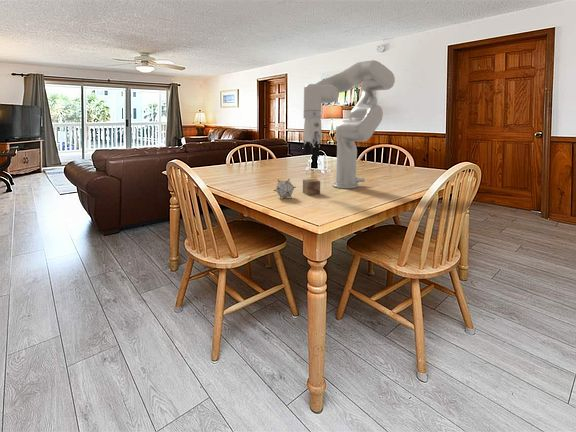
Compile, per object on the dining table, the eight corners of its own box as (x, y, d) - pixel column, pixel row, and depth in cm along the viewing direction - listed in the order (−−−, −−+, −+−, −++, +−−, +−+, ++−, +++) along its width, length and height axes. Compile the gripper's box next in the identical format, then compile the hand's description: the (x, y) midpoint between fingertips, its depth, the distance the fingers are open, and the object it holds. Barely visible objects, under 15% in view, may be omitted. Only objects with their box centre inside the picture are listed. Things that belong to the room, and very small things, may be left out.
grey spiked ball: (288, 207, 153) (292, 191, 145) (269, 199, 154) (273, 183, 146) (295, 193, 159) (300, 177, 151) (277, 186, 159) (281, 170, 152)
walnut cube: (314, 191, 166) (315, 179, 164) (319, 194, 160) (320, 181, 158) (302, 192, 164) (302, 179, 162) (307, 195, 158) (307, 182, 157)
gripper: (328, 115, 146) (327, 157, 150) (313, 115, 162) (312, 153, 166) (311, 114, 144) (310, 158, 148) (297, 115, 159) (296, 154, 164)
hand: (311, 155), depth 157 cm, fingers open, 9 cm apart
